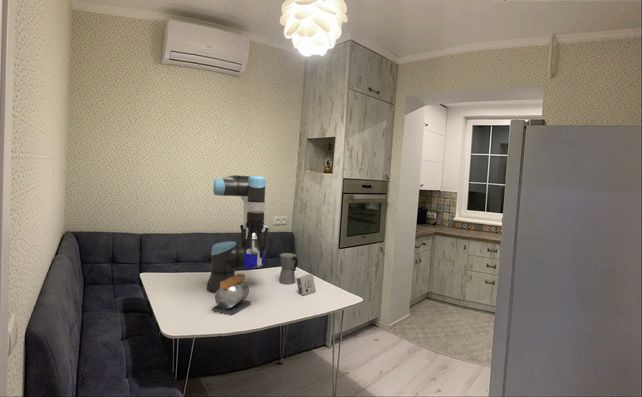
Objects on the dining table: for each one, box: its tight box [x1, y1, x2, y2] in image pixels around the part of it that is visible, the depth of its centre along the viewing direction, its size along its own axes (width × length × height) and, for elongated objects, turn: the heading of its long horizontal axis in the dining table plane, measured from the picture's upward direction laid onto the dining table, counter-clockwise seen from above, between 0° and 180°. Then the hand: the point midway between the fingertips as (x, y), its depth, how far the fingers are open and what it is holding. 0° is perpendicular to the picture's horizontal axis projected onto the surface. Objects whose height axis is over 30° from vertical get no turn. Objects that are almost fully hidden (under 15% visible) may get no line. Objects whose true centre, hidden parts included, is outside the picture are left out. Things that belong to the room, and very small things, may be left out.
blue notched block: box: [243, 249, 266, 270], centre depth 147 cm, size 12×4×6 cm, turn 159°
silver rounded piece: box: [211, 273, 252, 316], centre depth 144 cm, size 14×10×13 cm
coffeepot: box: [278, 249, 299, 285], centre depth 185 cm, size 15×9×18 cm, turn 39°
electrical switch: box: [296, 273, 316, 296], centre depth 169 cm, size 9×5×9 cm, turn 141°
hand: (253, 264), depth 147 cm, fingers closed on blue notched block, 5 cm apart
